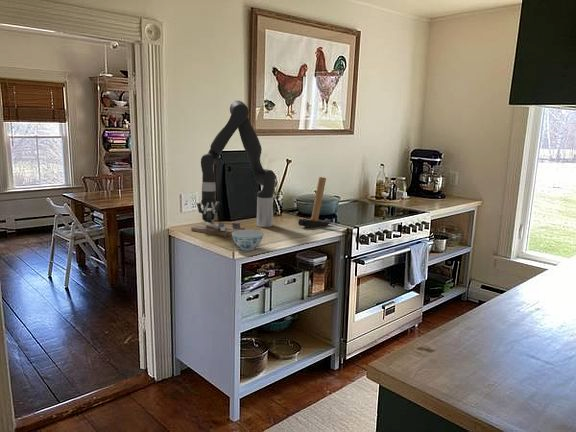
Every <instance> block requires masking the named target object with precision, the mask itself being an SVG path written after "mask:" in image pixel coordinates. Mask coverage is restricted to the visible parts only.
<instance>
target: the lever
mask: <svg viewBox="0 0 576 432" xmlns="http://www.w3.org/2000/svg"><path fill="white" fill-rule="evenodd" d="M216 223H218V224H216ZM204 224H205V225H207V226H210V227H212V228H215V229H217V230H219V231H225V227H224V224H225V222H221V221H220V222H214V221H213V220H212V211H211V209H209V210H208V209H207V211H206V221H204Z"/></svg>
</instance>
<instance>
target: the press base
mask: <svg viewBox="0 0 576 432" xmlns="http://www.w3.org/2000/svg"><path fill="white" fill-rule="evenodd" d="M215 223H216V224H218V223H219V222H215ZM224 227H225V231H219V230H217V229H215V228H212V227H210V226H207V225H205V223H202V224H198V225H194V226H191V229H190V230H191V232H197V233H202V234H208V235H213V236H219V237H224V238H226V237H231V236H232V232H234V231H237V230H246V229H245V227H242V226H241V222H237V221H234V222H232V223H231V225H230V224H225V223H224Z"/></svg>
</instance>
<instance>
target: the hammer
mask: <svg viewBox="0 0 576 432" xmlns="http://www.w3.org/2000/svg"><path fill="white" fill-rule="evenodd" d="M326 181H327V178H326V177H322V176H319V177H318V182H317V187H316V192H315V197H314V202H313V207H312V214H311V217H310V218H299V220H298V225H299V226H303V227H306V228H310V229H312V228H313V229H314V228H316V227H317V228H324V226H326V227H328V226H329V224H330V223H331V221H332V219H329V218H325V219H324V220H320V219H319V217H320V212H321V206H322V201H323V198H324V197H323V196H324V191H325V186H326ZM317 228H316V229H317Z"/></svg>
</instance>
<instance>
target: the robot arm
mask: <svg viewBox="0 0 576 432" xmlns="http://www.w3.org/2000/svg"><path fill="white" fill-rule="evenodd" d="M229 113H230V117H229V119H228V121H227V123H226V124H225V125H224V127H223V128H222V129H221V130H220V131H219V132H218V133H217V134H216V136H215V137H214V139H213V141H211V144H210V149H209V150H208V153H205V154H203V155H202V156H201V158H200V167H201V172H202V177H201V178H202V183H201V201H199V202H196V206H197V210H198V213H200V214H201V215H202V216H201V217H202V218H201V220H202V221H203V222H205V221H206V211H207V210H208V209H209V210H211V211H212V221H214V220H215V215H216V213H218V212H219V209H220V206H221V201H217V200H216V192H217V191H216V186H217V185H216V173H215V171H214V166H215V165H216V164H217V162H218V161H219V159H220V156H221V154H222V152H223V151H224V149H225V148H226V146H227V144H229V143H228V142H229V141H230V139H231V138H232V137H233V135H234V134H235V132H236V131H237V130H238V133H239V137H240V140H241V144H242V146H243V149H244V151H245V153H246V156H247V158H248V161H249V164H250V167H251V171H252V175H253V179H254V181H255V183H256V184H257V185H259V186H260V185H261V186H262V188H261V190H259V191H257V193H256V226H257V227H258V228H260V227H261V228H270V227H273V225H274V207H273V205H274V202H273V201H274V200H273V199H274V193H275V185H276V174H275V172H274V171H273V170H272V169H267V168H266V169H265V168H263V166H262V162H261V157H262V156H261V155H262V144H261V142H260V140H259V137H258V135H257V133H256V131H255V129H254V128H253V126H252V124H251V122H250V118H249V114H250V110H249V107H248V106H247V104H246V103H244V102H243V101H242V100H233V101H232V102H231V103H230V106H229Z"/></svg>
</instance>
